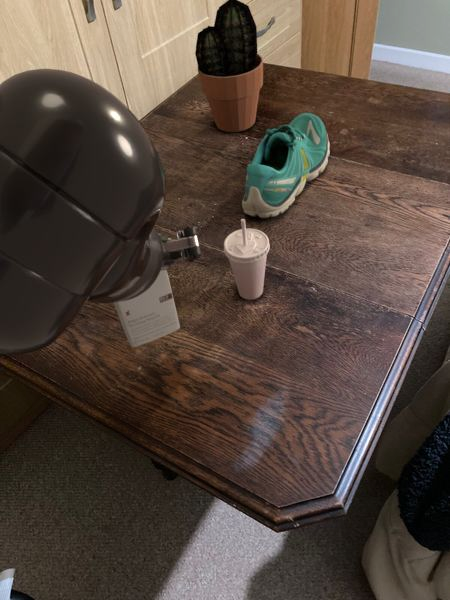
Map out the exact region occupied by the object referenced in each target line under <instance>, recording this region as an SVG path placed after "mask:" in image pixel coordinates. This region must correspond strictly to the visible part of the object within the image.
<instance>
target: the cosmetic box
mask: <svg viewBox="0 0 450 600" xmlns="http://www.w3.org/2000/svg"><path fill="white" fill-rule="evenodd" d="M172 291H173V290H172V286H171V283H170V278H169V274H168V270H164V271H160V273H159V275H158V277H157V279H156V280H155V282H154V283H153V284H152V286H151V287H150V288H149V289H148V290H147V291H145V292H144V293H143V294H141V295H139V296H137V297H135V298H133V299H130V300H126V301H120V302H113V305H114V308H115V310H116V313H117V316H118V319H119V321H120V323H121V328H122V330H123V331H124V334H125V337H126V339H127V341H128V343H129V345H130V347H131V348H137V347H140V346H143V345H145V344H148V343H150V342H153V341H155V340H158V339H161V338H162V337H165V336H168V335H170V334H172V333H174V332H176V331H178V330H179V329H180V328H181V325H180V320H179V316H178V312H177V308H176V304H175V300H174V299H175V298H174V295H173V292H172Z"/></svg>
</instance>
